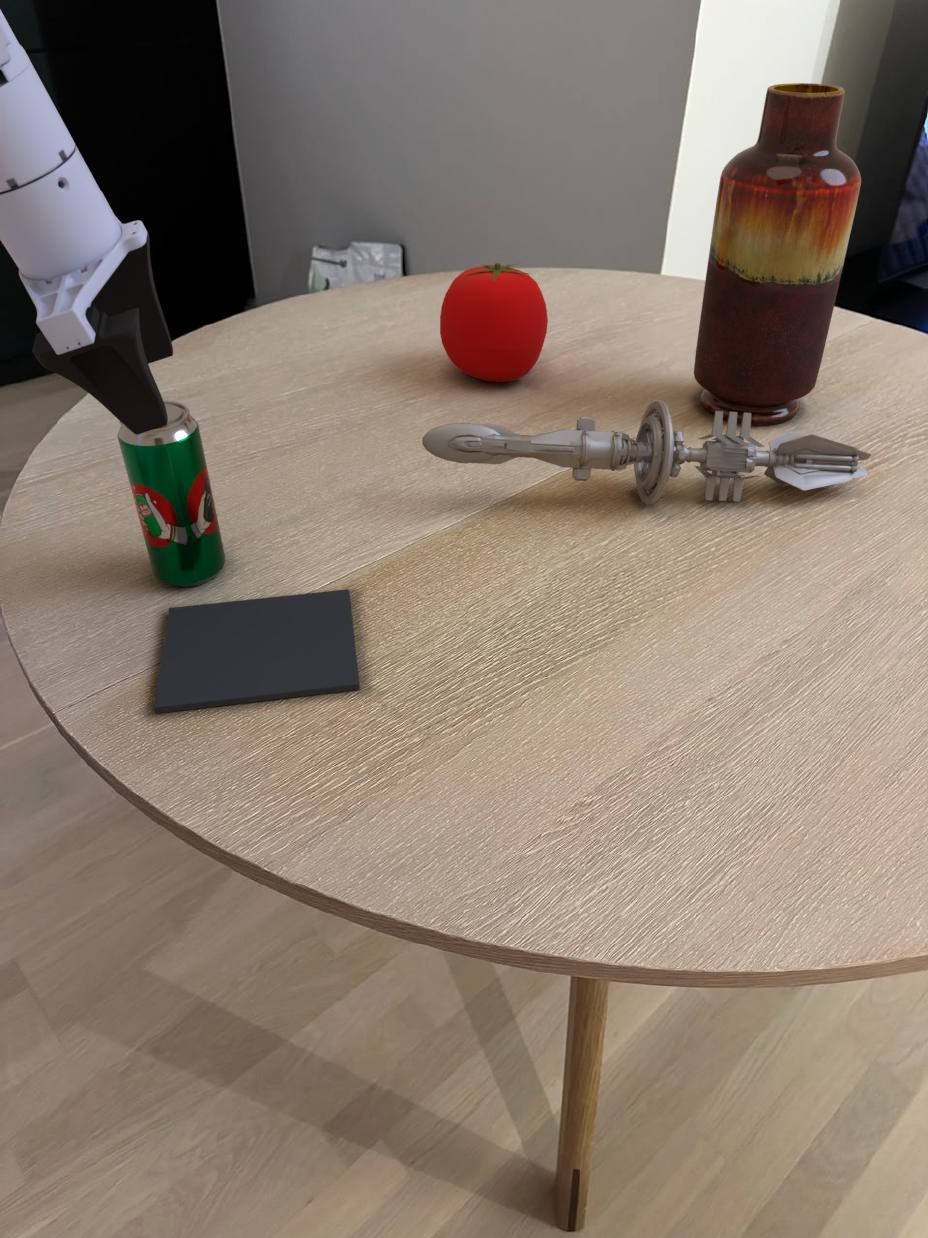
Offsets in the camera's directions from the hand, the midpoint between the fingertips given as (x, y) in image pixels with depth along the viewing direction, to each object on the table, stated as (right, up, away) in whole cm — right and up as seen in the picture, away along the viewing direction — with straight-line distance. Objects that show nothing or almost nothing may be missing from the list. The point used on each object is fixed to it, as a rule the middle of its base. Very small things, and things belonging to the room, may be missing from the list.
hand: (155, 390), depth 56 cm
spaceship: (+33, -4, +17) cm, 38 cm away
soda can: (-1, -11, +10) cm, 15 cm away
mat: (+6, -16, +3) cm, 17 cm away
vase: (+46, +6, +31) cm, 55 cm away
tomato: (+22, +11, +38) cm, 45 cm away
